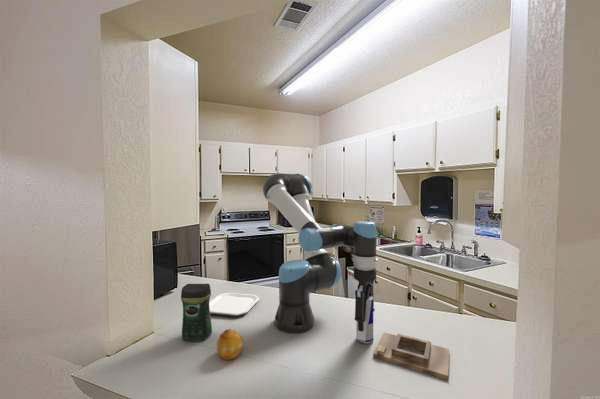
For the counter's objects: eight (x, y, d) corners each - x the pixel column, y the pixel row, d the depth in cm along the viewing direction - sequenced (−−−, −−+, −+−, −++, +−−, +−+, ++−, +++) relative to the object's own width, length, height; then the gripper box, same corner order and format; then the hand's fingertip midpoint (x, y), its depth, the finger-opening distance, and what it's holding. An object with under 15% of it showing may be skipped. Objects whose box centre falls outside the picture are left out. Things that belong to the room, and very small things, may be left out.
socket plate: (373, 357, 81) (373, 347, 81) (383, 335, 93) (383, 327, 93) (448, 380, 71) (448, 369, 71) (449, 352, 83) (449, 343, 83)
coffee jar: (214, 330, 97) (213, 280, 97) (206, 342, 89) (205, 288, 89) (188, 330, 98) (187, 280, 97) (178, 342, 90) (177, 288, 89)
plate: (197, 315, 110) (197, 310, 110) (222, 296, 130) (222, 291, 130) (243, 320, 105) (243, 315, 105) (262, 299, 126) (262, 295, 125)
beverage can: (373, 345, 87) (374, 300, 87) (356, 343, 88) (356, 299, 88) (372, 336, 93) (372, 294, 92) (356, 334, 94) (356, 292, 93)
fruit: (207, 347, 82) (217, 329, 80) (228, 338, 89) (237, 320, 87) (221, 370, 78) (232, 351, 76) (242, 358, 85) (252, 340, 83)
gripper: (367, 277, 79) (367, 352, 80) (382, 262, 96) (382, 324, 97) (344, 273, 83) (344, 345, 84) (362, 259, 100) (362, 319, 101)
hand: (364, 334), depth 90 cm, fingers open, 6 cm apart
